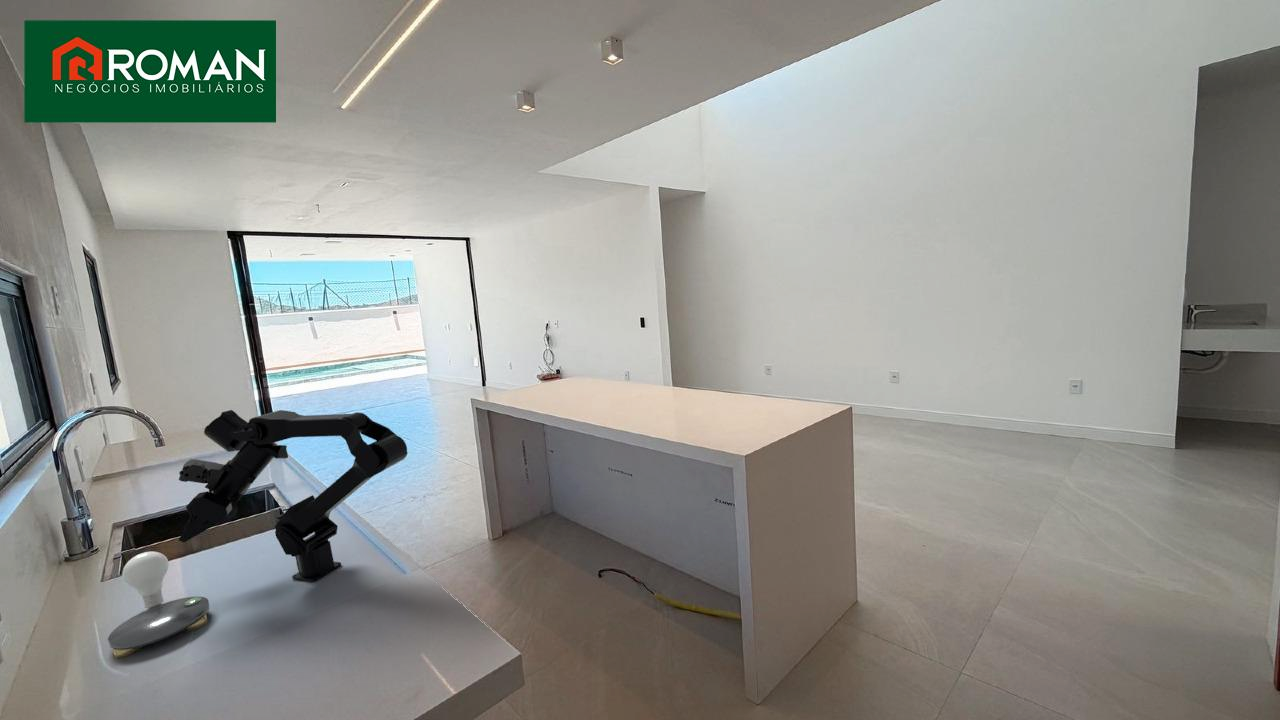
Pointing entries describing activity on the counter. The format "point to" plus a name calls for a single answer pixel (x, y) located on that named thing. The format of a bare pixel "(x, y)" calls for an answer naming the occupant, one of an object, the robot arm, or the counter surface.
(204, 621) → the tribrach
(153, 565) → the lightbulb
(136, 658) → the counter surface
